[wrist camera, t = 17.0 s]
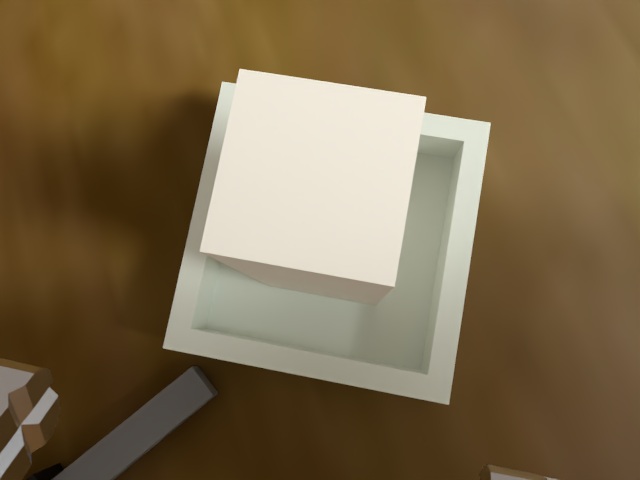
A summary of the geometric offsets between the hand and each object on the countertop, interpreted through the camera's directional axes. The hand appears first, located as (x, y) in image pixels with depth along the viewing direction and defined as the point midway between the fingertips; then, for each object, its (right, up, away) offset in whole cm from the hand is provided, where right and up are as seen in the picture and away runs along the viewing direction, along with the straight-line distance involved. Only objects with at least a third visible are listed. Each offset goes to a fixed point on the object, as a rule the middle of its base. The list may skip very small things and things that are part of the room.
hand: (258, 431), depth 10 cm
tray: (+2, +3, +17) cm, 17 cm away
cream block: (+2, +3, +16) cm, 16 cm away
